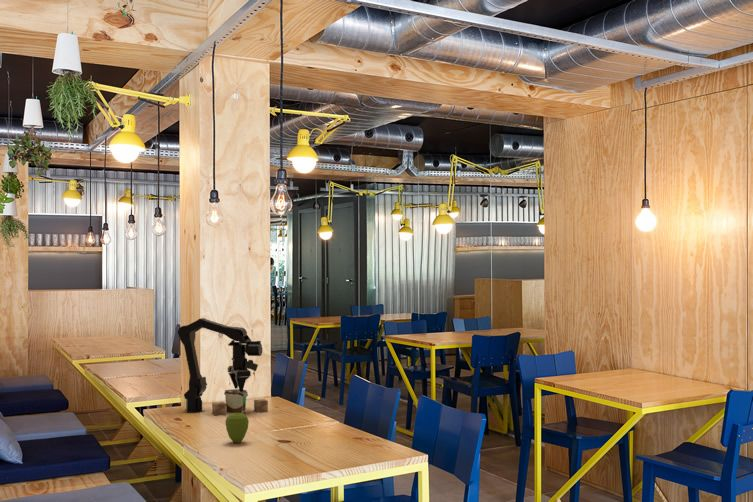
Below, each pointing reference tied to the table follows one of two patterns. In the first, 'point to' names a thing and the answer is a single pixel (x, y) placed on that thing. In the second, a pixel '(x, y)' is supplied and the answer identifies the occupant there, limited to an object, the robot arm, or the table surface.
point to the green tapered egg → (237, 426)
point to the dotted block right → (261, 405)
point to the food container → (235, 400)
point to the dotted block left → (219, 408)
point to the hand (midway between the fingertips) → (238, 390)
